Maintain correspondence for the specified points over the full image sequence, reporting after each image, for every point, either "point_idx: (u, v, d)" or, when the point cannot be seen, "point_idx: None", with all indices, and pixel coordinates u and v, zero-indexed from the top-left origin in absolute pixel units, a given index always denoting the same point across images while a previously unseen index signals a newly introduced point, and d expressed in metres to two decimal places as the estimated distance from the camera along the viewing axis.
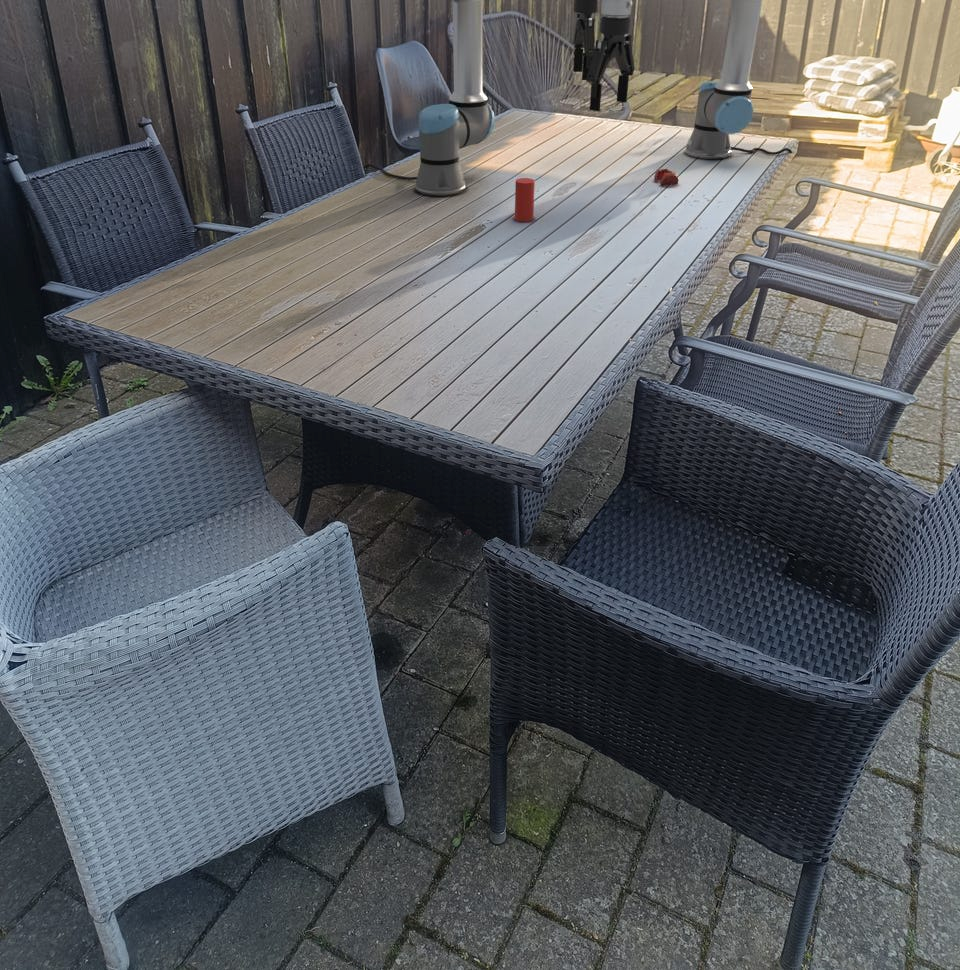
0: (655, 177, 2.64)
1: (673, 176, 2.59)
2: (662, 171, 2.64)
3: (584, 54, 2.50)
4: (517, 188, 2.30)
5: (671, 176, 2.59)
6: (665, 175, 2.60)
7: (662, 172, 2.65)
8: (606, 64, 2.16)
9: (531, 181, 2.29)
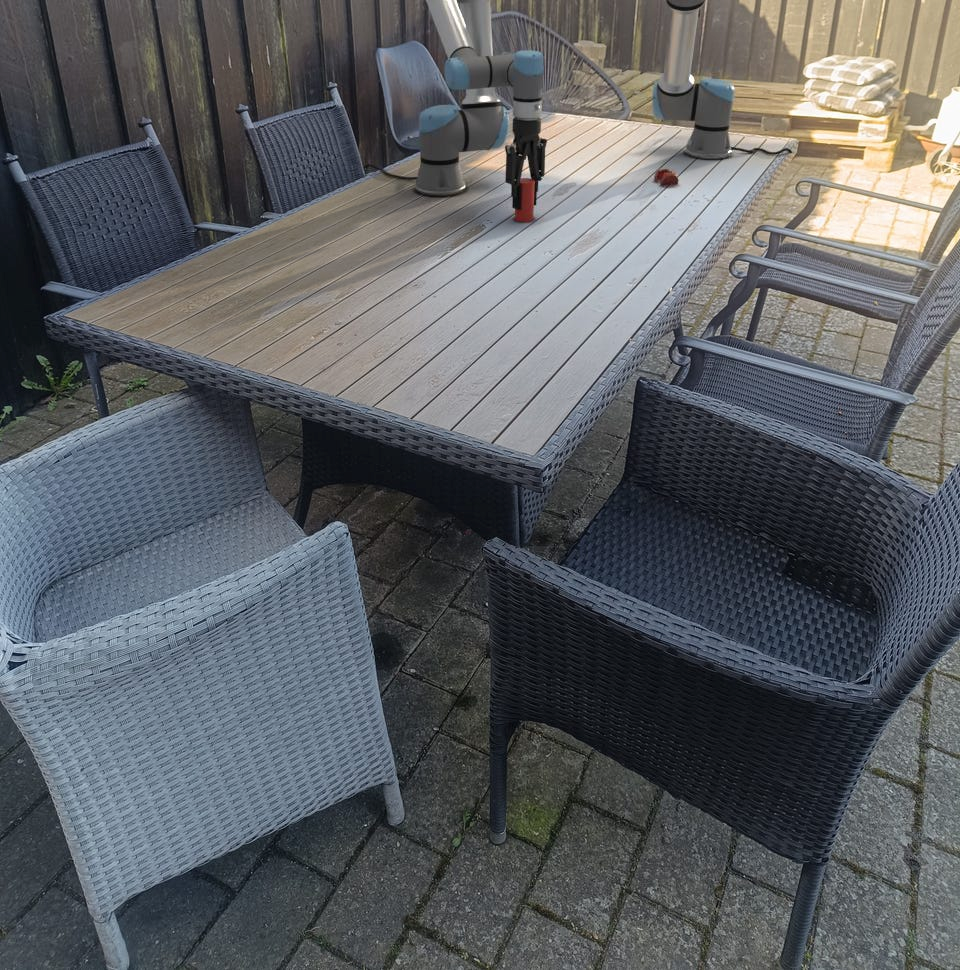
0: (655, 177, 2.64)
1: (673, 176, 2.59)
2: (662, 171, 2.64)
3: None
4: None
5: (671, 176, 2.59)
6: (665, 175, 2.60)
7: (662, 172, 2.65)
8: (521, 165, 2.25)
9: (531, 181, 2.29)
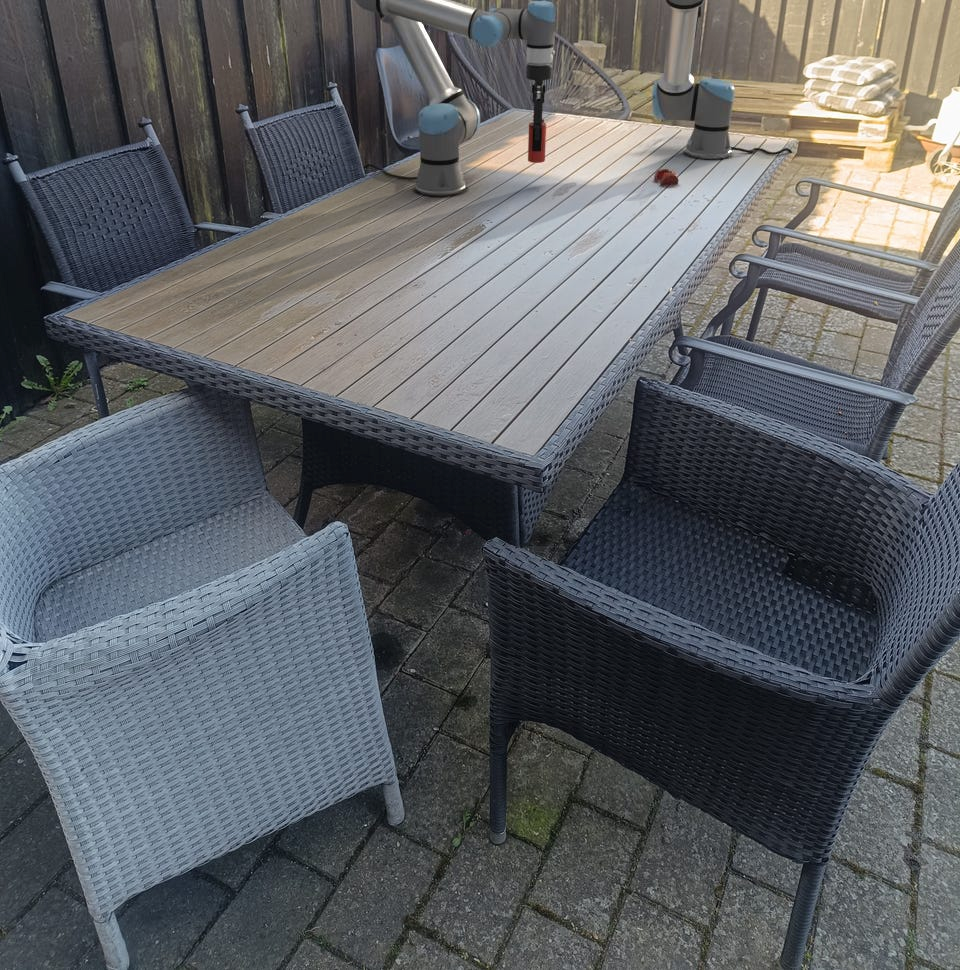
0: (655, 177, 2.64)
1: (673, 176, 2.59)
2: (662, 171, 2.64)
3: None
4: None
5: (671, 176, 2.59)
6: (665, 175, 2.60)
7: (662, 172, 2.65)
8: None
9: (543, 123, 2.51)
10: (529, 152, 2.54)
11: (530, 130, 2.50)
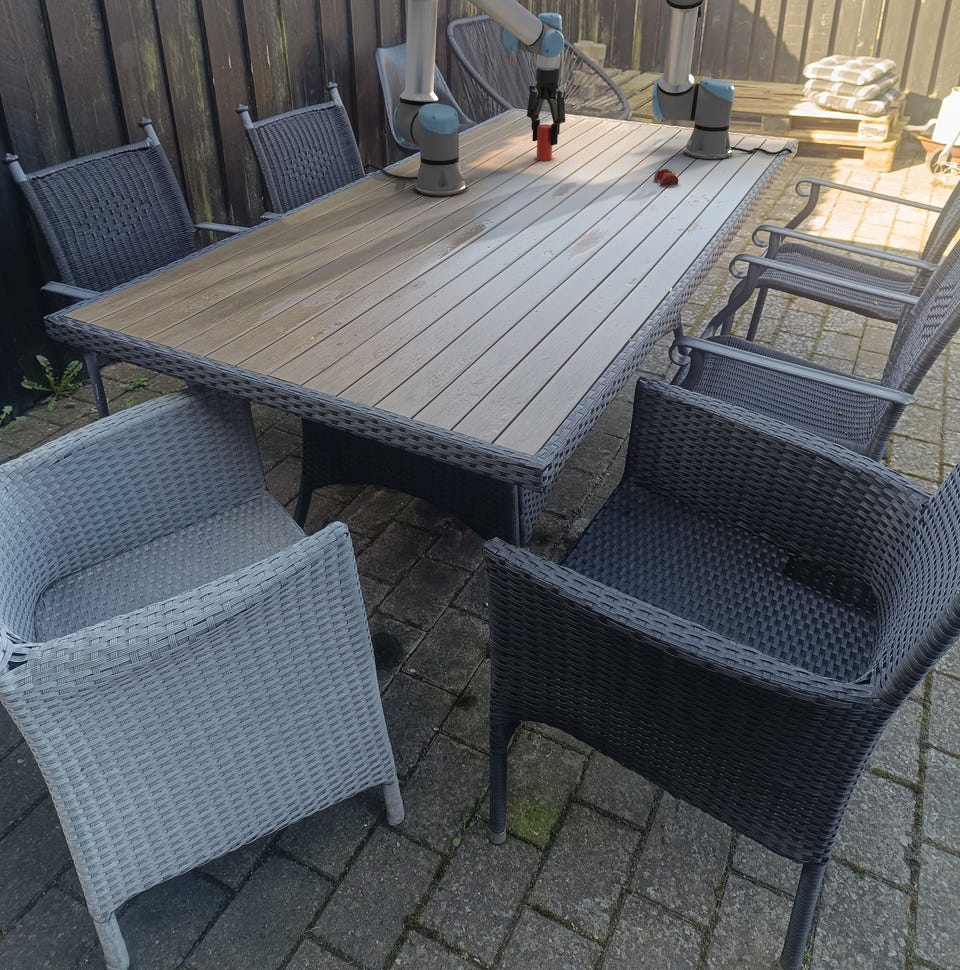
0: (655, 177, 2.64)
1: (673, 176, 2.59)
2: (662, 171, 2.64)
3: None
4: (550, 132, 2.81)
5: (671, 176, 2.59)
6: (665, 175, 2.60)
7: (662, 172, 2.65)
8: None
9: (547, 124, 2.83)
10: (543, 152, 2.84)
11: (544, 132, 2.80)
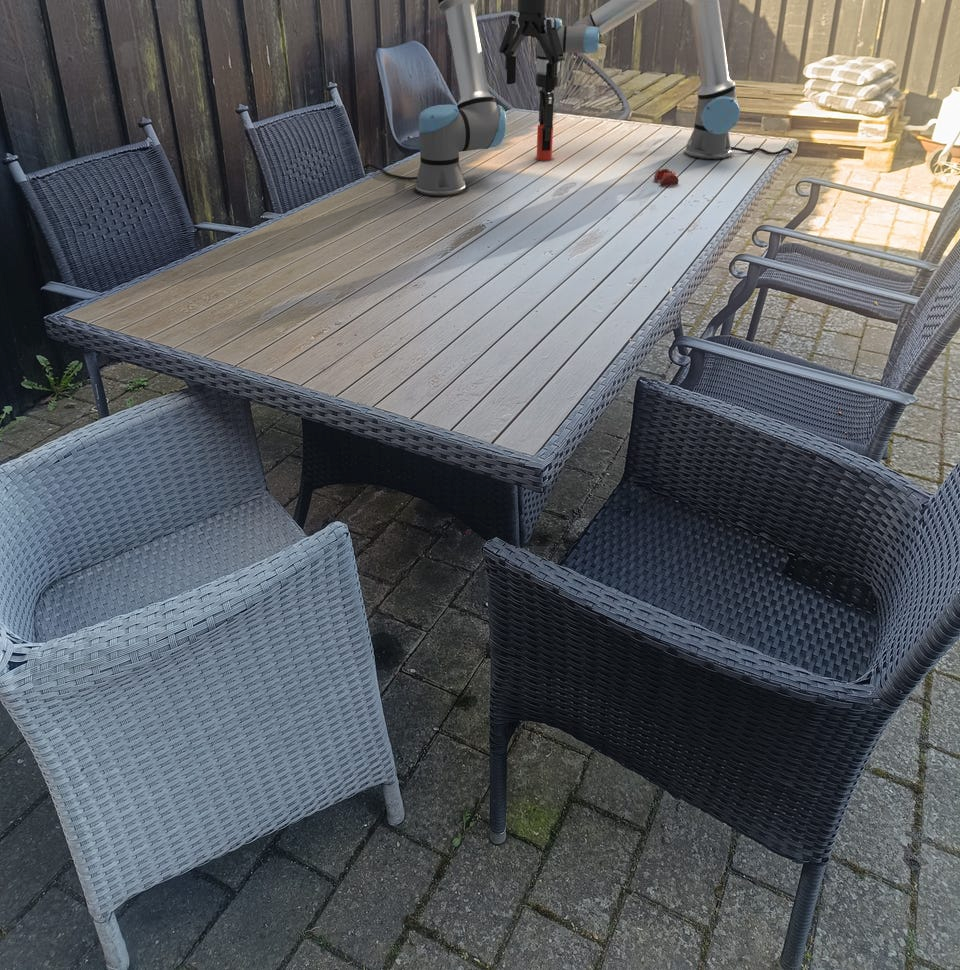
0: (655, 177, 2.64)
1: (673, 176, 2.59)
2: (662, 171, 2.64)
3: (543, 129, 2.78)
4: None
5: (671, 176, 2.59)
6: (665, 175, 2.60)
7: (662, 172, 2.65)
8: None
9: None
10: (543, 152, 2.84)
11: None
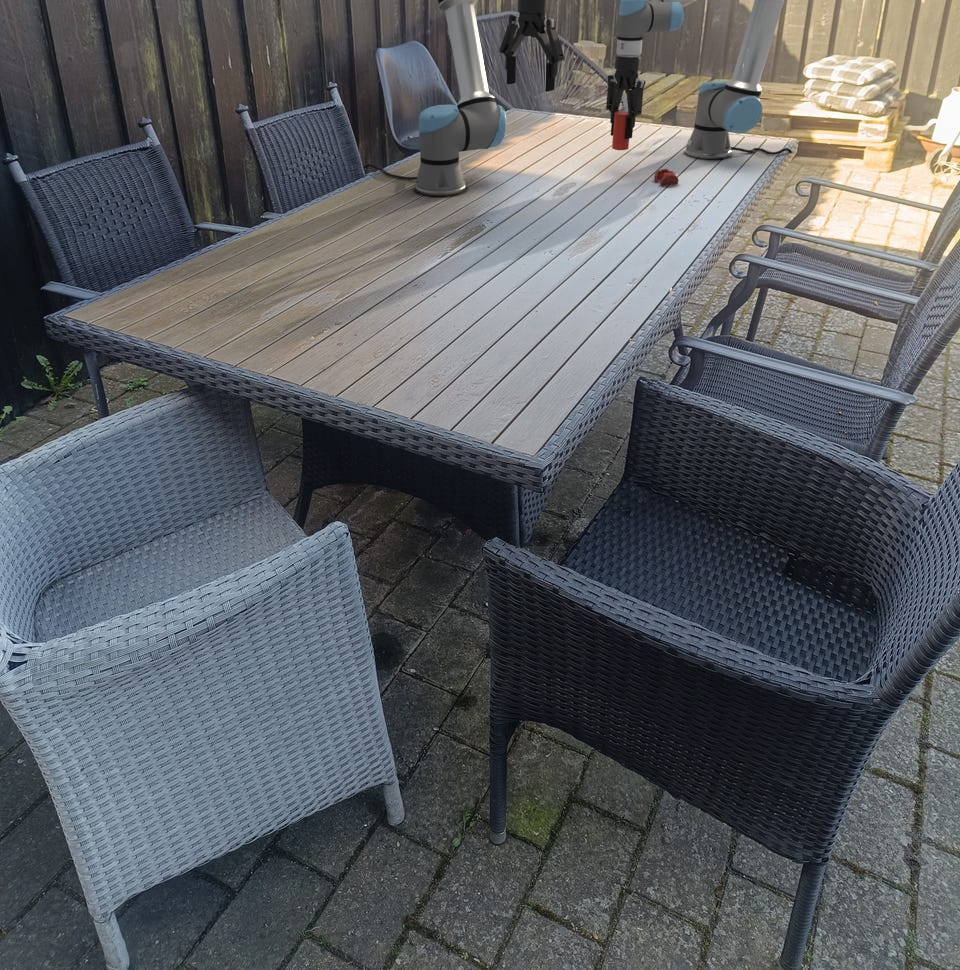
0: (655, 177, 2.64)
1: (673, 176, 2.59)
2: (662, 171, 2.64)
3: (630, 116, 2.59)
4: None
5: (671, 176, 2.59)
6: (665, 175, 2.60)
7: (662, 172, 2.65)
8: None
9: (621, 111, 2.64)
10: (624, 141, 2.65)
11: None
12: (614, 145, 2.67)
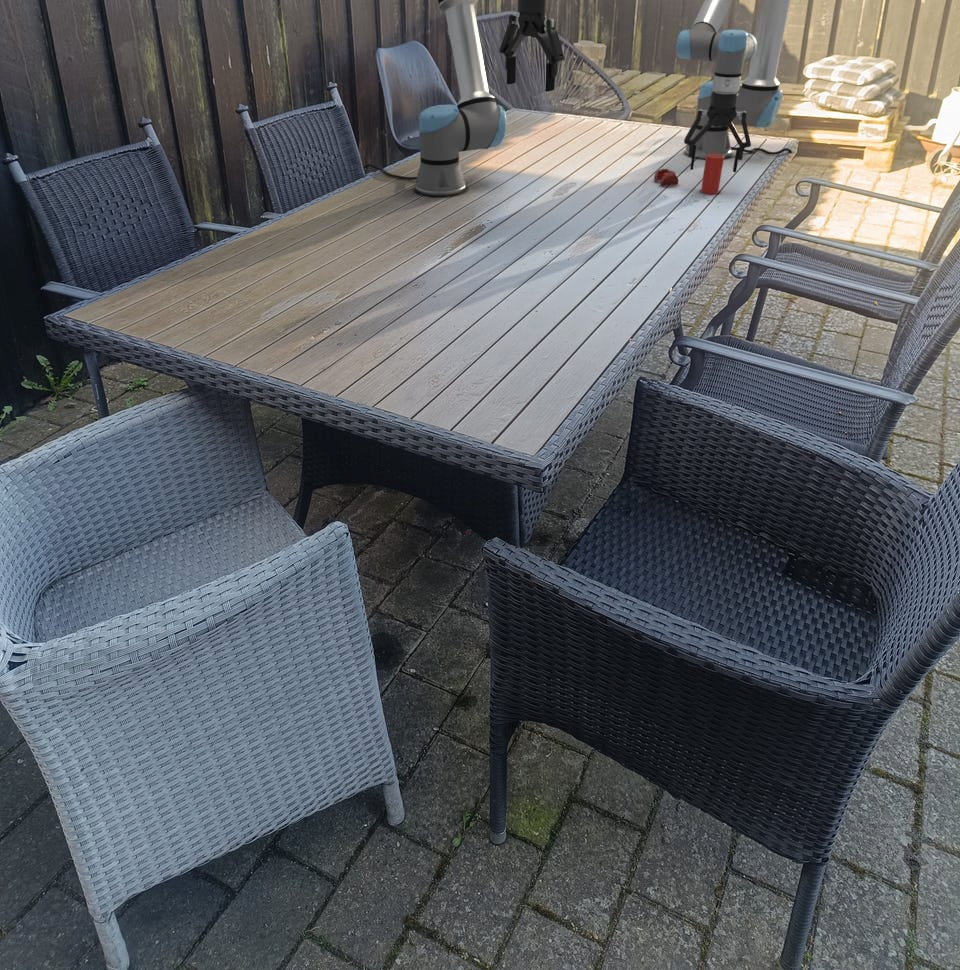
0: (655, 177, 2.64)
1: (673, 176, 2.59)
2: (662, 171, 2.64)
3: (744, 147, 2.46)
4: None
5: (671, 176, 2.59)
6: (665, 175, 2.60)
7: (662, 172, 2.65)
8: None
9: (709, 154, 2.52)
10: (719, 184, 2.54)
11: (722, 162, 2.51)
12: (709, 190, 2.54)
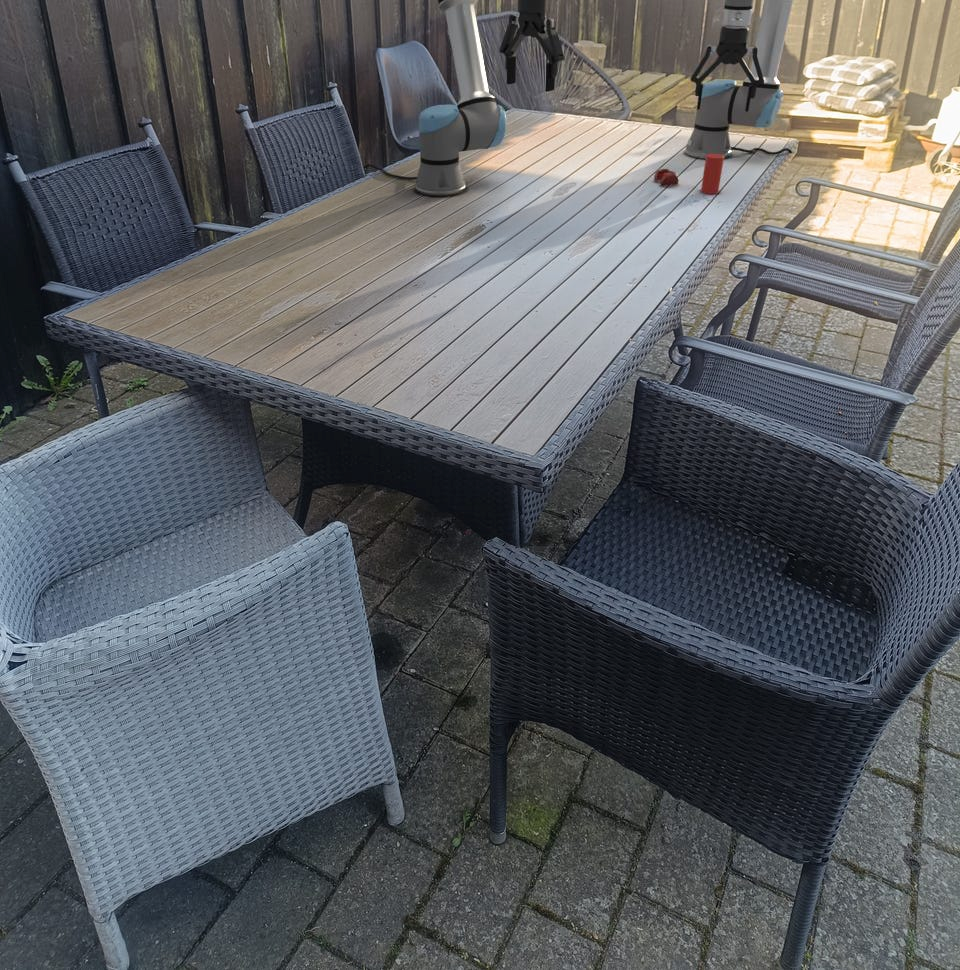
0: (655, 177, 2.64)
1: (673, 176, 2.59)
2: (662, 171, 2.64)
3: (757, 84, 2.36)
4: None
5: (671, 176, 2.59)
6: (665, 175, 2.60)
7: (662, 172, 2.65)
8: None
9: (709, 154, 2.52)
10: (719, 184, 2.54)
11: (722, 162, 2.51)
12: (709, 190, 2.54)
